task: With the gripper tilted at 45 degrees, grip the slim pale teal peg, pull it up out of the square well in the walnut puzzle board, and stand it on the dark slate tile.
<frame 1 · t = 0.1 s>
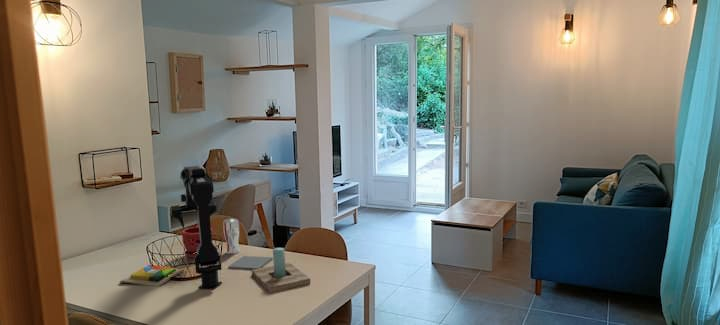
hand: (194, 226, 221), 15 cm above the table, tool pointing down, fingers open, 9 cm apart
pale teal peg: (279, 264, 196), in the walnut puzzle board
wooden puzzle: (153, 278, 204), on the table
walnut puzzle board: (280, 279, 196), on the table
white can: (233, 252, 233), on the table
plant pot: (199, 255, 231), on the table
slate tile: (250, 263, 216), on the table
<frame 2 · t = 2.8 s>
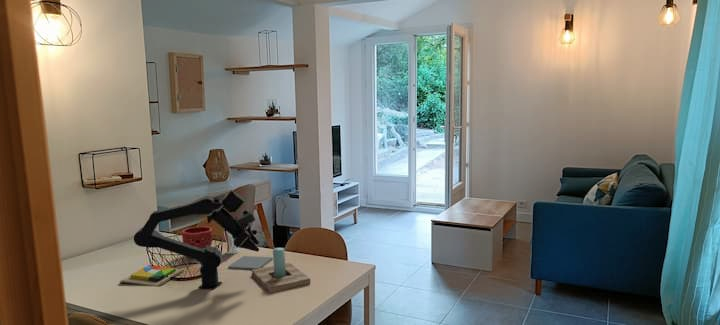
hand: (258, 247, 194), 14 cm above the table, tool tilted 45°, fingers open, 9 cm apart
nothing on the table moved.
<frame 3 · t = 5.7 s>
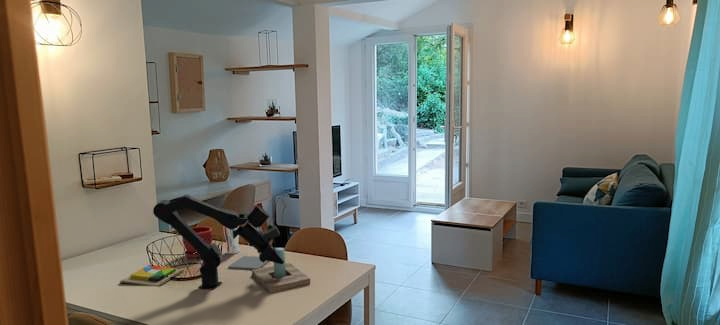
hand: (283, 261, 196), 7 cm above the table, tool tilted 45°, fingers closed on pale teal peg, 4 cm apart
pale teal peg: (279, 264, 196), in the walnut puzzle board, touching gripper
everything else where it was.
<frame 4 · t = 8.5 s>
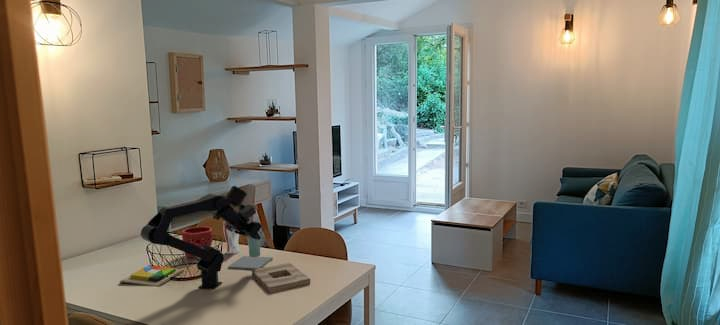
hand: (256, 237, 205), 14 cm above the table, tool tilted 45°, fingers closed on pale teal peg, 4 cm apart
pale teal peg: (254, 241, 205), point 13 cm above the table, touching gripper
everything else where it was.
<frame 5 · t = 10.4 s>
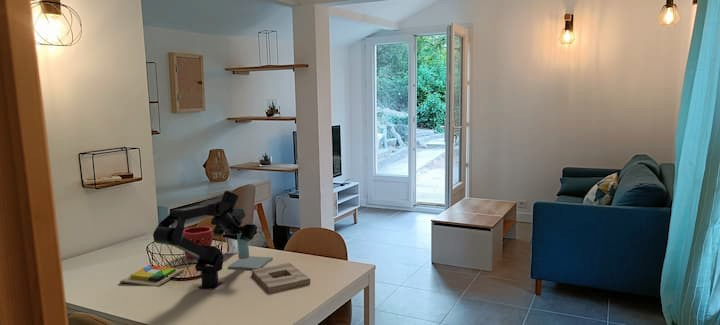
hand: (244, 239, 211), 11 cm above the table, tool tilted 45°, fingers closed on pale teal peg, 4 cm apart
pale teal peg: (242, 243, 210), point 10 cm above the table, touching gripper
everything else where it was.
when the fingers open (9 cm above the table, at t = 11.7 s): pale teal peg drops 1 cm, resting on slate tile.
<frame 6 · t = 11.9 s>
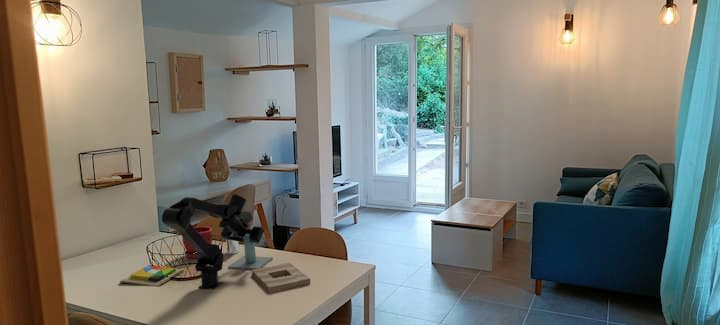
hand: (251, 242, 216), 9 cm above the table, tool tilted 45°, fingers open, 7 cm apart
pale teal peg: (249, 248, 215), on the slate tile, point 7 cm above the table
everything else where it was.
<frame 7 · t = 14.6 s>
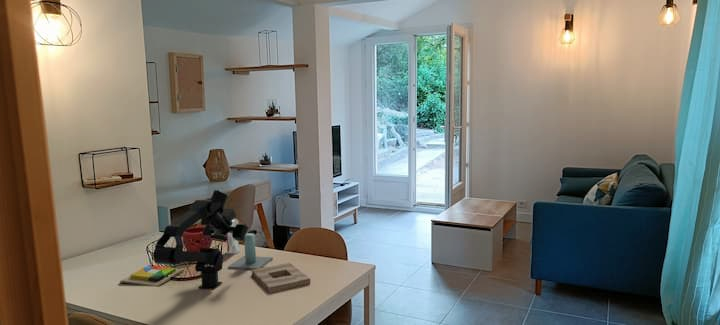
hand: (235, 240, 206), 13 cm above the table, tool tilted 45°, fingers open, 9 cm apart
nothing on the table moved.
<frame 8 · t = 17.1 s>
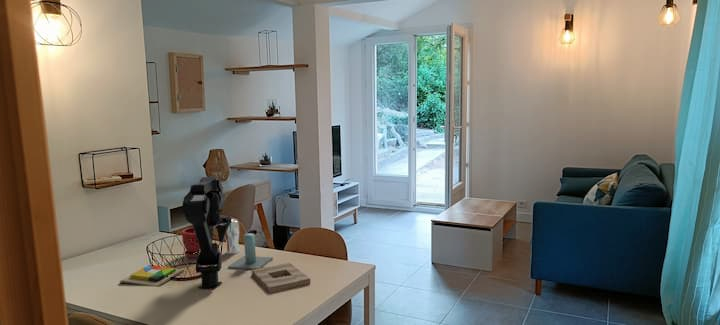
hand: (215, 245, 203), 12 cm above the table, tool pointing down, fingers open, 9 cm apart
nothing on the table moved.
at the end: pale teal peg inside the target area on the slate tile (0.0 cm from its centre), point 6.8 cm above the slate tile's base; pale teal peg tilted 0°; the gripper is holding nothing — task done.
